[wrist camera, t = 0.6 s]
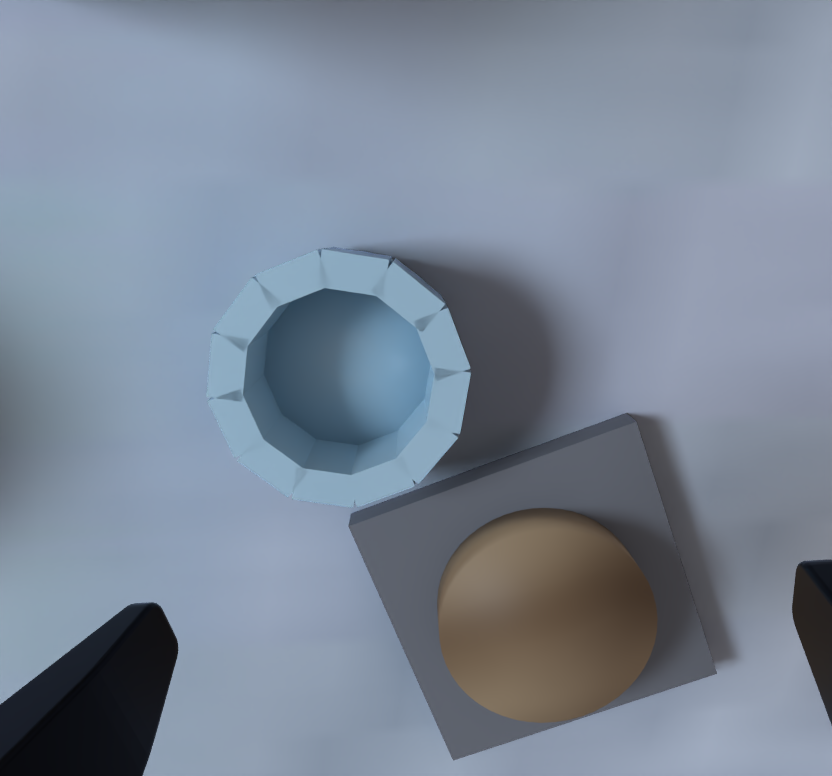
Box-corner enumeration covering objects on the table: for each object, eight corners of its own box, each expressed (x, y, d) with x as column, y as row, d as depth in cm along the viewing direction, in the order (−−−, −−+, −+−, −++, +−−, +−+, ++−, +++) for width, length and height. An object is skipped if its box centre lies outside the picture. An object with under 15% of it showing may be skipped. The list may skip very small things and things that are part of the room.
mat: (704, 655, 24) (717, 673, 23) (451, 739, 25) (453, 760, 24) (626, 413, 22) (636, 421, 21) (351, 513, 23) (348, 526, 22)
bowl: (488, 419, 22) (502, 454, 19) (293, 492, 23) (273, 538, 19) (411, 215, 20) (412, 211, 17) (204, 298, 21) (163, 311, 18)
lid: (664, 652, 23) (682, 682, 21) (477, 715, 23) (482, 749, 22) (605, 478, 21) (621, 497, 20) (407, 549, 22) (406, 573, 20)
